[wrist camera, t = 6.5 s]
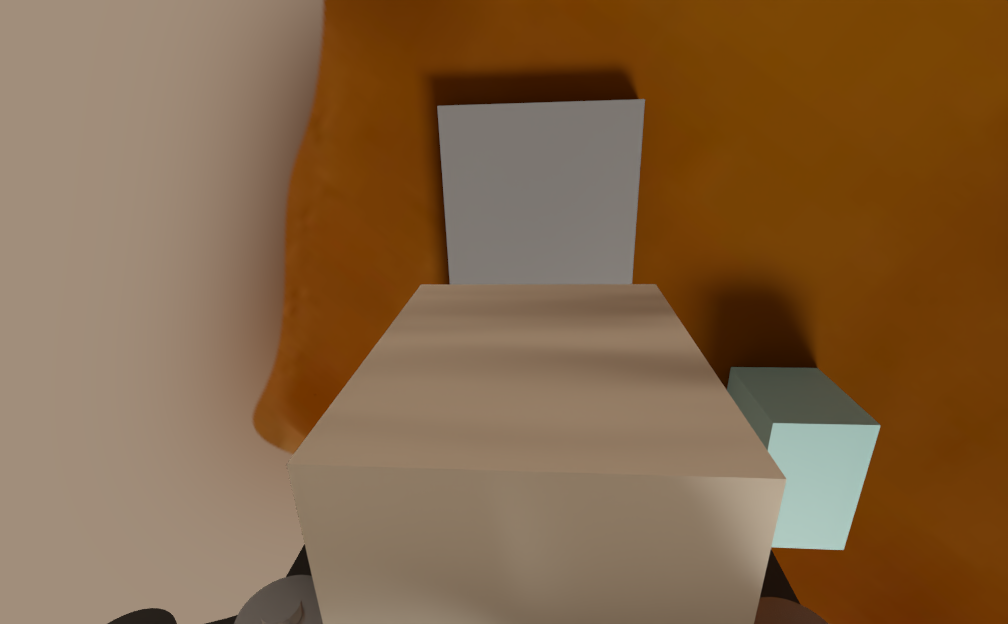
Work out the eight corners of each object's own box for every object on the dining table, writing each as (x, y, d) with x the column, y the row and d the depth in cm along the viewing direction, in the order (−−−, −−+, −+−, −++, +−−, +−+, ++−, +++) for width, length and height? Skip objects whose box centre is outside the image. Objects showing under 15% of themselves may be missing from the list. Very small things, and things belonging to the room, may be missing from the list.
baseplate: (443, 106, 25) (437, 105, 24) (639, 100, 25) (644, 99, 23) (461, 378, 31) (457, 390, 30) (620, 380, 30) (624, 392, 29)
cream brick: (421, 284, 11) (286, 464, 5) (655, 284, 10) (786, 478, 5) (446, 559, 14) (378, 864, 8) (629, 567, 13) (691, 894, 8)
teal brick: (730, 366, 30) (773, 423, 24) (816, 367, 29) (880, 425, 24) (713, 473, 33) (748, 546, 27) (791, 475, 32) (843, 549, 27)
